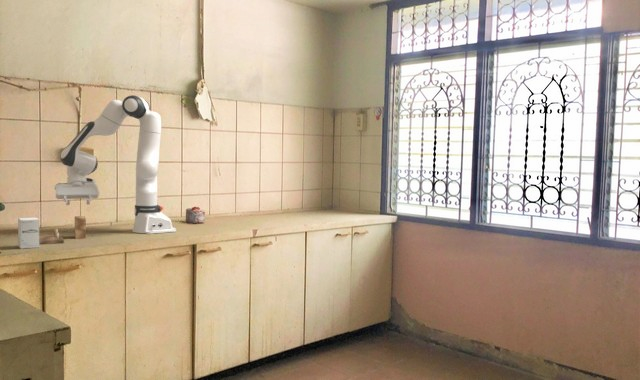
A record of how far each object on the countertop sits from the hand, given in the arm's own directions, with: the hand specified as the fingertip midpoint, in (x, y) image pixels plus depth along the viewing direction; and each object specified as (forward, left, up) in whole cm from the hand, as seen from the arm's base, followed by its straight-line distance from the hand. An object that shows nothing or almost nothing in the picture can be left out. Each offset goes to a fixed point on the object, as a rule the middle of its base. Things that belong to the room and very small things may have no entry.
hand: (78, 203), depth 269 cm
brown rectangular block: (0, +12, -15) cm, 19 cm away
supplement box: (+22, +31, -15) cm, 41 cm away
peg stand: (+15, +19, -15) cm, 29 cm away
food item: (-66, -22, -16) cm, 71 cm away
